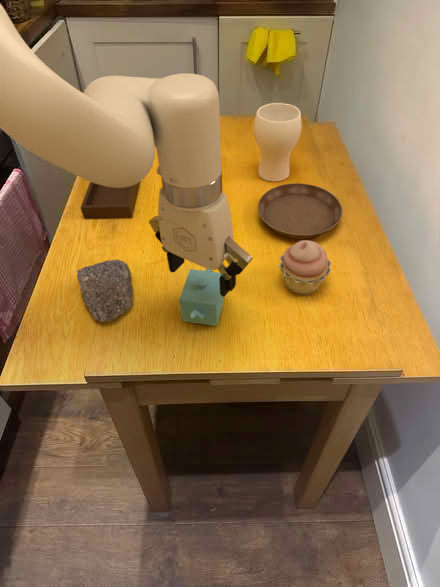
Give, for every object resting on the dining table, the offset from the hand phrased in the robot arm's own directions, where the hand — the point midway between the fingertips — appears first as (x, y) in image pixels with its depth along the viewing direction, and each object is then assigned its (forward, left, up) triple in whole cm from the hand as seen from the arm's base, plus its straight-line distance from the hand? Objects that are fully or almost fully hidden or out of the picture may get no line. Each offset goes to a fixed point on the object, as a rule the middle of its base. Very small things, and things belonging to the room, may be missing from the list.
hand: (201, 278), depth 64 cm
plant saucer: (+2, +33, -9) cm, 34 cm away
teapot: (0, 0, -9) cm, 9 cm away
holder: (-38, +18, -9) cm, 43 cm away
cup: (-11, +46, -9) cm, 48 cm away
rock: (-17, -6, -9) cm, 20 cm away
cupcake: (+11, +16, -9) cm, 21 cm away
